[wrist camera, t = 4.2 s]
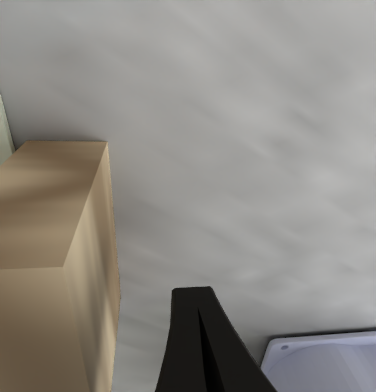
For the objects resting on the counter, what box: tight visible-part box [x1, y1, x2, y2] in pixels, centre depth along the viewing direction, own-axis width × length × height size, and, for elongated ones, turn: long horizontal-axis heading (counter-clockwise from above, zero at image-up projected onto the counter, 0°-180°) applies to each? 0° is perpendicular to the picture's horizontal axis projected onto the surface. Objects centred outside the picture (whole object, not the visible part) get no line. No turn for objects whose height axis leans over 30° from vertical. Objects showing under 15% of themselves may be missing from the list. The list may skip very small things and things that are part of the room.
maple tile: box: [0, 140, 121, 392], centre depth 11 cm, size 3×9×7 cm, turn 177°
